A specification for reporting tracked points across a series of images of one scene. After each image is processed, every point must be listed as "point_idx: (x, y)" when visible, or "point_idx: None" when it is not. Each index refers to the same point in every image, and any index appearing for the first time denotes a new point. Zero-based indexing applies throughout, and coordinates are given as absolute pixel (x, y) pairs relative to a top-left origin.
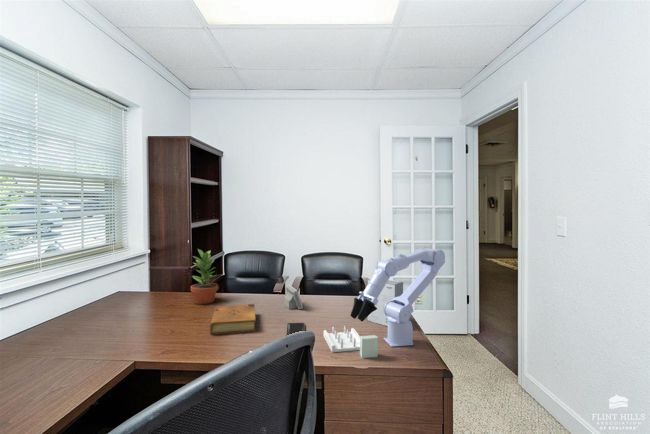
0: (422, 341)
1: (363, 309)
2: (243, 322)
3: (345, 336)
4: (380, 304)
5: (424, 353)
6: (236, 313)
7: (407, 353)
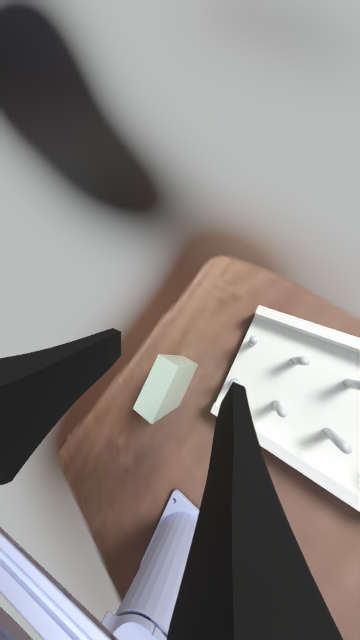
0: None
1: (40, 355)
2: None
3: (344, 431)
4: None
5: (101, 513)
6: None
7: (127, 477)
